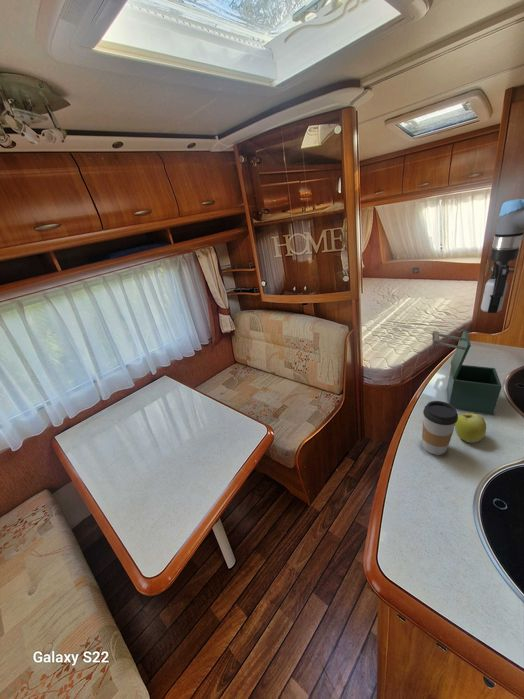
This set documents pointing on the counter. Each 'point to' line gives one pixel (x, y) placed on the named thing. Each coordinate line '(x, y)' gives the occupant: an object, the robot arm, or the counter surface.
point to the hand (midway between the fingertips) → (490, 309)
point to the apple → (470, 427)
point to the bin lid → (460, 350)
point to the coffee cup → (438, 426)
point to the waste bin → (474, 389)
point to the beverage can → (489, 291)
